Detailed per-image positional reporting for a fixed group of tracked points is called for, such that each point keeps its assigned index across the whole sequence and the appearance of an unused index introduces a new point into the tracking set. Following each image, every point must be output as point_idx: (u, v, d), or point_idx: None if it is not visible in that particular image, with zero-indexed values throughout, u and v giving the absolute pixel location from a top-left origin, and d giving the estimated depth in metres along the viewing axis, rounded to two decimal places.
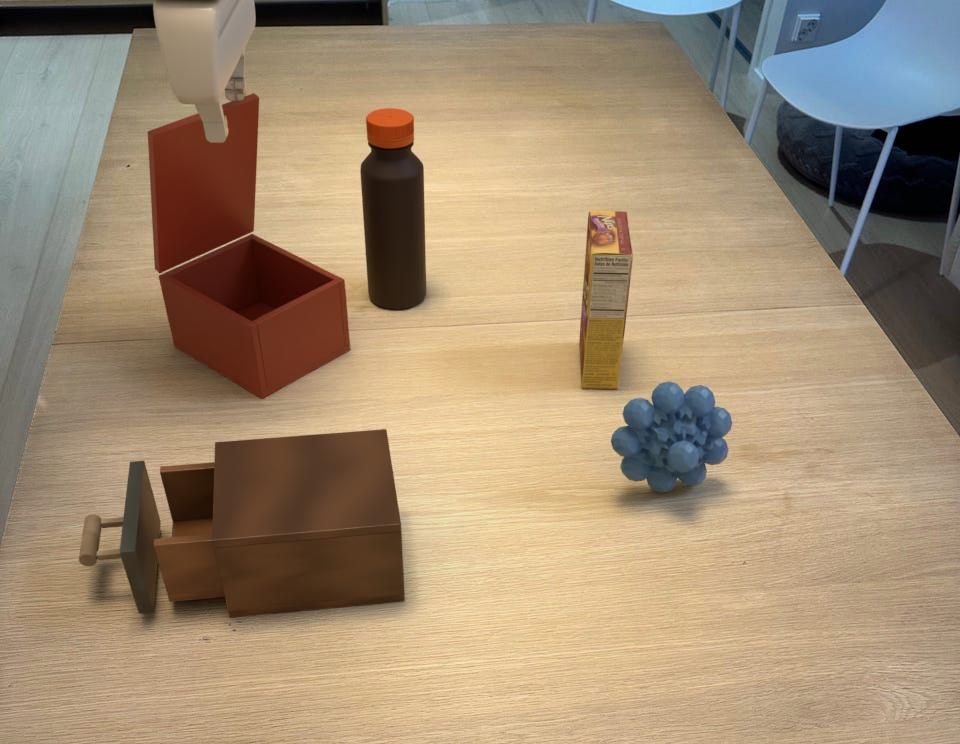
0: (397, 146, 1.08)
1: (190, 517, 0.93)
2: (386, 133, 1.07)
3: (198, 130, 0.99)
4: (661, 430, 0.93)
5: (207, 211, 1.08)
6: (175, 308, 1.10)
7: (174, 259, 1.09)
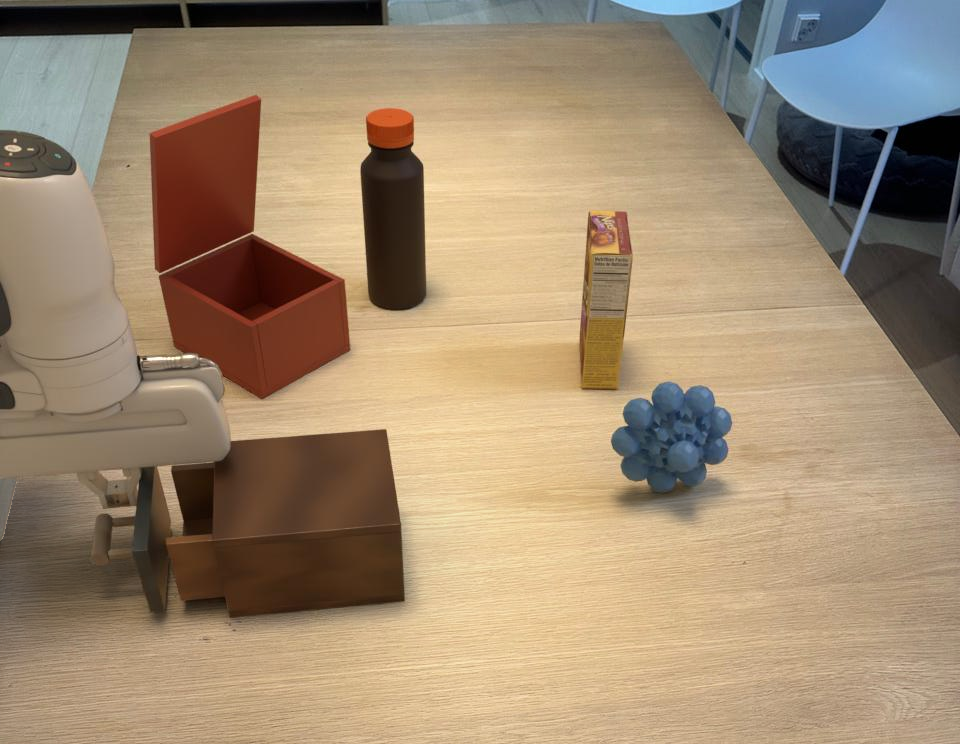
0: (397, 146, 1.08)
1: (201, 516, 0.93)
2: (386, 133, 1.07)
3: (200, 132, 0.99)
4: (661, 430, 0.93)
5: (208, 212, 1.08)
6: (175, 308, 1.10)
7: (174, 259, 1.09)
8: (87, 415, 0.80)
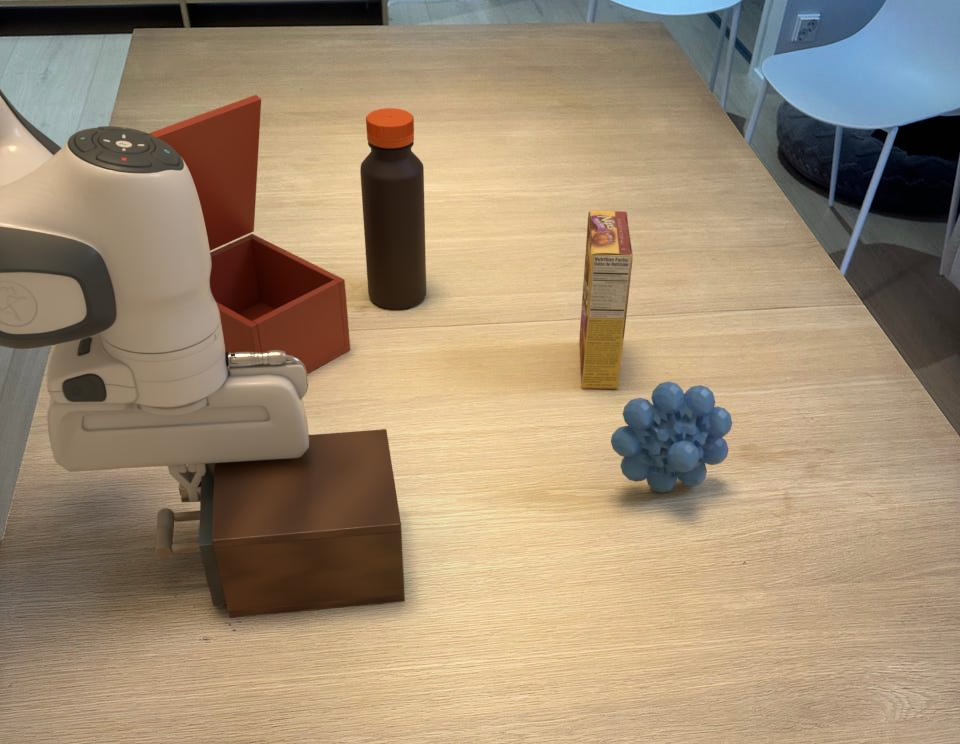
0: (397, 146, 1.08)
1: None
2: (386, 133, 1.07)
3: (200, 132, 0.99)
4: (661, 430, 0.93)
5: (208, 212, 1.08)
6: None
7: None
8: (175, 409, 0.81)
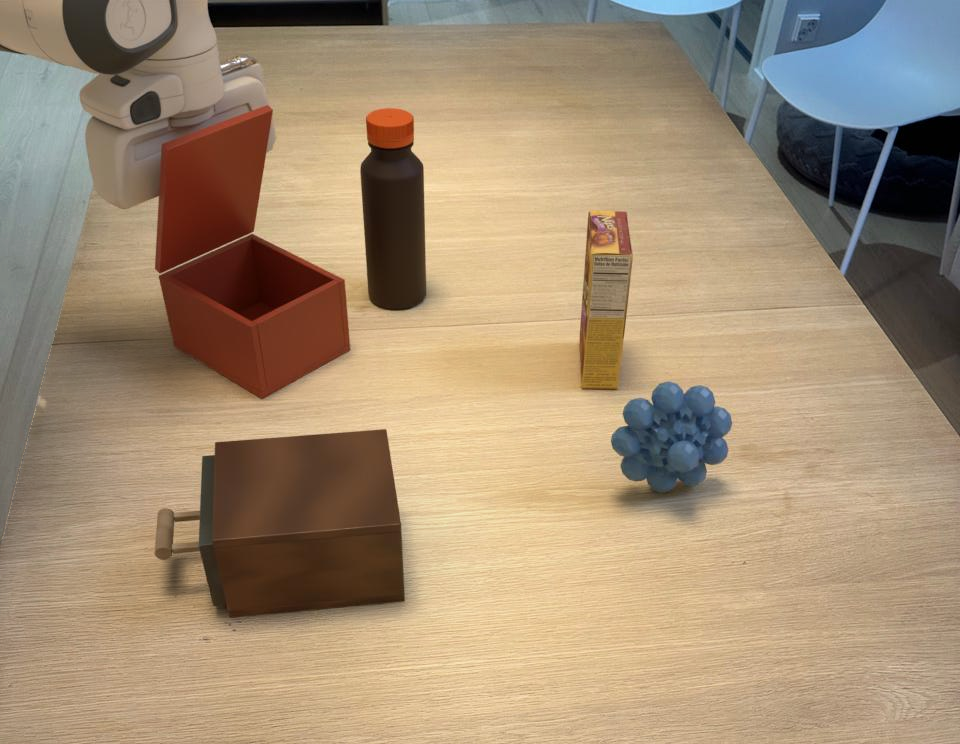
0: (397, 146, 1.08)
1: None
2: (386, 133, 1.07)
3: (211, 142, 0.99)
4: (661, 430, 0.93)
5: (211, 215, 1.08)
6: (175, 308, 1.10)
7: (175, 260, 1.09)
8: (203, 115, 1.00)
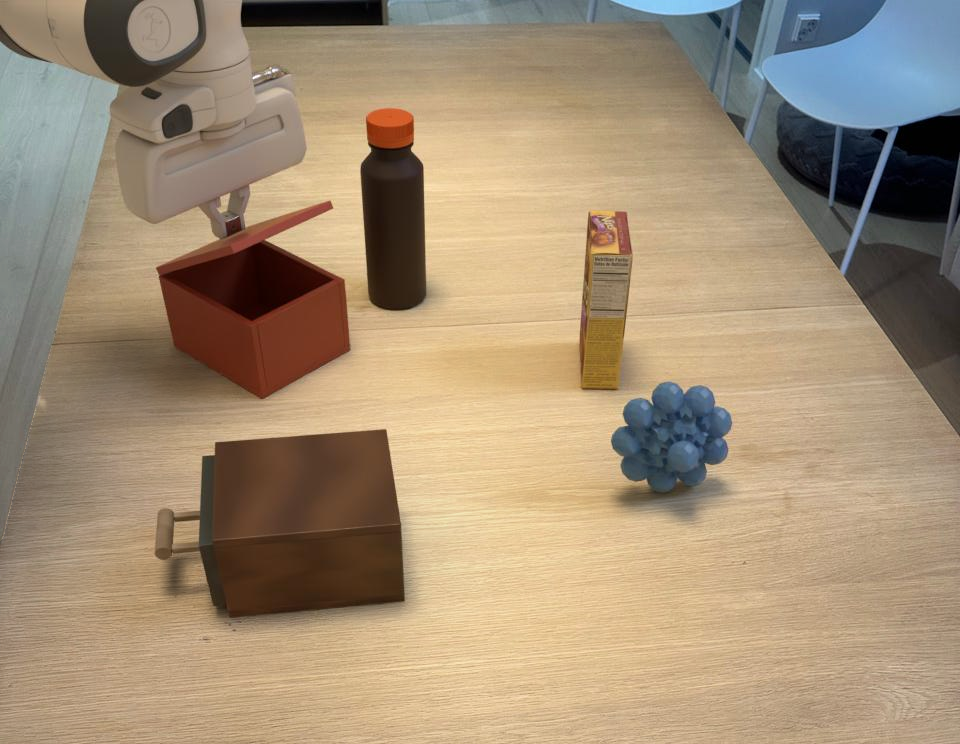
0: (397, 146, 1.08)
1: None
2: (386, 133, 1.07)
3: None
4: (661, 430, 0.93)
5: None
6: (175, 308, 1.10)
7: None
8: (234, 127, 0.98)
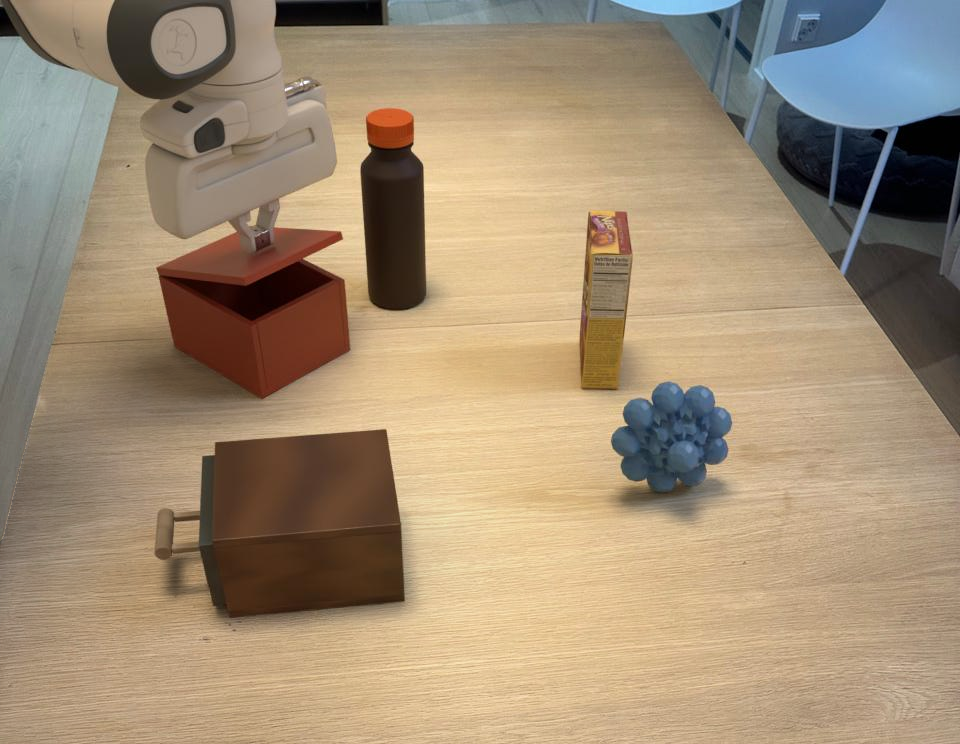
0: (397, 146, 1.08)
1: None
2: (386, 133, 1.07)
3: None
4: (661, 430, 0.93)
5: None
6: (175, 308, 1.10)
7: None
8: (266, 141, 0.96)
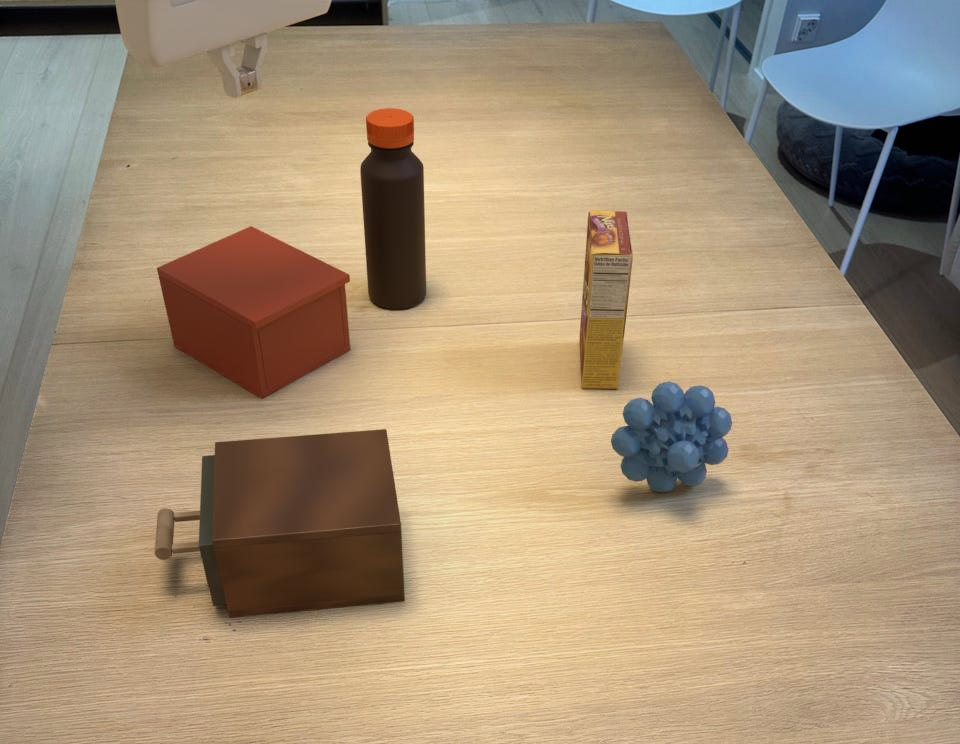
0: (397, 146, 1.08)
1: None
2: (386, 133, 1.07)
3: None
4: (661, 430, 0.93)
5: None
6: (175, 308, 1.10)
7: None
8: None
